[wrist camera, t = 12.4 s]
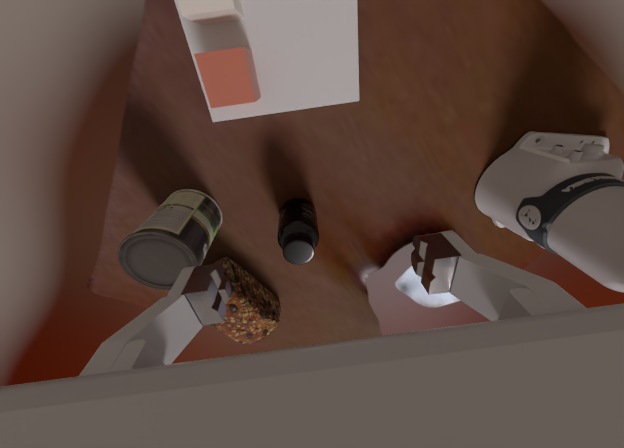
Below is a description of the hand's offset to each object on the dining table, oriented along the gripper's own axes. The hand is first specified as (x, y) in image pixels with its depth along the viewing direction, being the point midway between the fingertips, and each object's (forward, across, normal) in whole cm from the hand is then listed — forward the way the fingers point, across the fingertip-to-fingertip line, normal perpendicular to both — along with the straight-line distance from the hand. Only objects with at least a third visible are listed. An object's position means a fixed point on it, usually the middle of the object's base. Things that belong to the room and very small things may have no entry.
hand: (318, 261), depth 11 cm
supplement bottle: (+33, +3, +16) cm, 37 cm away
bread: (+34, +19, +33) cm, 51 cm away
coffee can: (+33, +22, +13) cm, 42 cm away
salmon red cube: (+32, +8, -7) cm, 34 cm away
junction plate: (+33, +2, -11) cm, 35 cm away
